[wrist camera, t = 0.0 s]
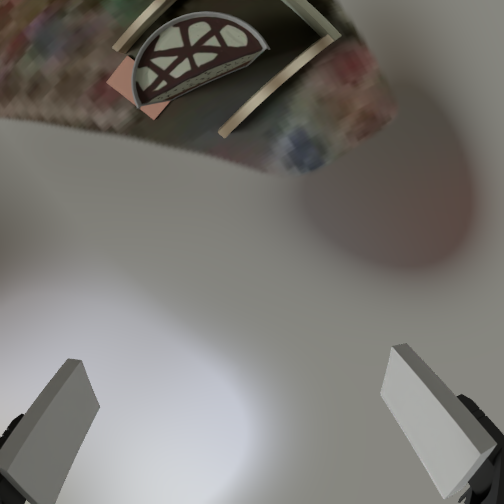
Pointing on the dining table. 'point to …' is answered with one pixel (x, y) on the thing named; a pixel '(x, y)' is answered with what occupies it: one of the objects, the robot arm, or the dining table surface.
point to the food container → (192, 55)
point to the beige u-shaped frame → (327, 34)
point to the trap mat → (123, 85)
